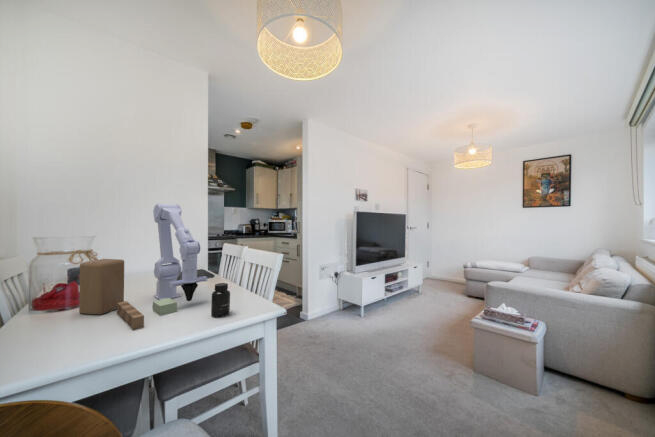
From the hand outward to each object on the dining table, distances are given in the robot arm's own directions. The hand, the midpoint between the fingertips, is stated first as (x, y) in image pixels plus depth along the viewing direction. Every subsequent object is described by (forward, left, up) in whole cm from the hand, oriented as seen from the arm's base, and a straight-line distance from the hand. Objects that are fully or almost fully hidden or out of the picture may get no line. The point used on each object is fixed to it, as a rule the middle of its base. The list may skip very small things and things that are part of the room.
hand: (189, 300), depth 108 cm
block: (-19, -25, -2) cm, 32 cm away
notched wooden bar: (0, -21, -2) cm, 21 cm away
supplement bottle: (+20, +4, -2) cm, 20 cm away
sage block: (0, -9, -2) cm, 10 cm away
